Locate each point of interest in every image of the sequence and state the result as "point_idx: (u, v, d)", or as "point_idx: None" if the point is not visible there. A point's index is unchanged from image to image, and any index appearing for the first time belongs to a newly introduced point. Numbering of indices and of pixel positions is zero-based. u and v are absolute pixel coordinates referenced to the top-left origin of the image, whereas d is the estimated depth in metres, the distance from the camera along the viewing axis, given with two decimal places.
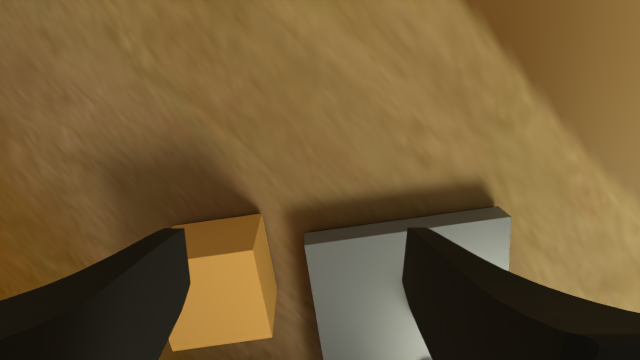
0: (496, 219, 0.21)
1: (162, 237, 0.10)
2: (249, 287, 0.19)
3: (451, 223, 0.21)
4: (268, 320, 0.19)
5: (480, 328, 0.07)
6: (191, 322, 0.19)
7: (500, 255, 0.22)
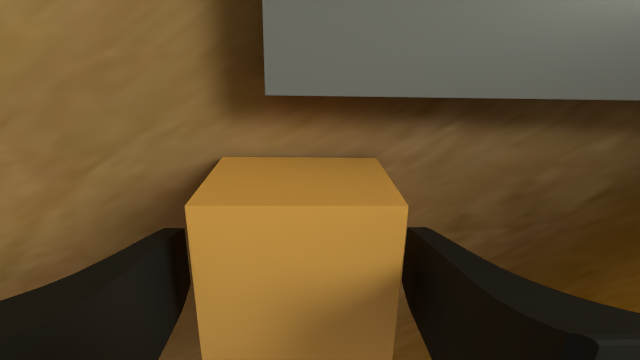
0: None
1: (162, 237, 0.10)
2: (273, 227, 0.09)
3: None
4: (364, 205, 0.09)
5: (480, 328, 0.07)
6: (335, 336, 0.10)
7: None
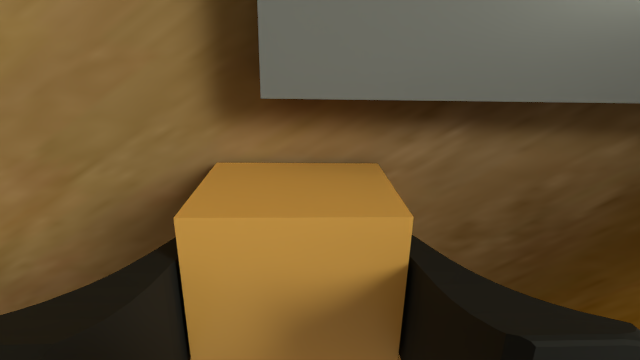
0: None
1: None
2: (268, 240, 0.08)
3: None
4: (367, 216, 0.08)
5: (439, 329, 0.07)
6: (335, 354, 0.10)
7: None
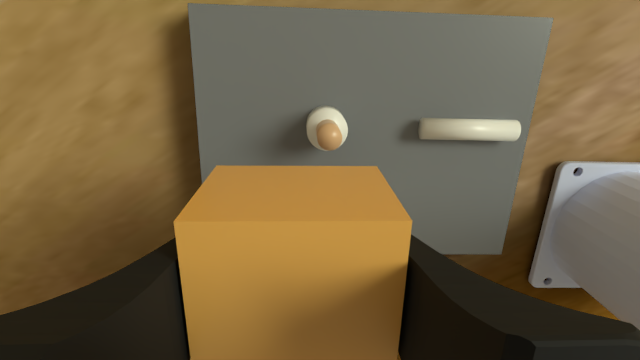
0: (190, 24, 0.16)
1: None
2: (268, 243, 0.08)
3: (195, 85, 0.17)
4: (366, 219, 0.08)
5: (438, 329, 0.07)
6: (334, 357, 0.10)
7: (247, 19, 0.16)
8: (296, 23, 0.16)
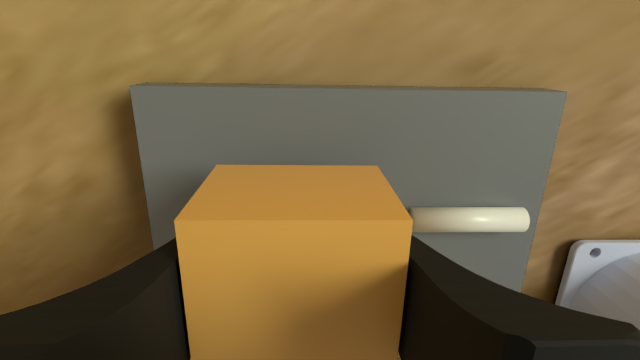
0: (134, 109, 0.13)
1: None
2: (268, 243, 0.08)
3: (145, 175, 0.14)
4: (366, 219, 0.08)
5: (438, 329, 0.07)
6: (335, 356, 0.10)
7: (202, 101, 0.13)
8: (260, 105, 0.13)
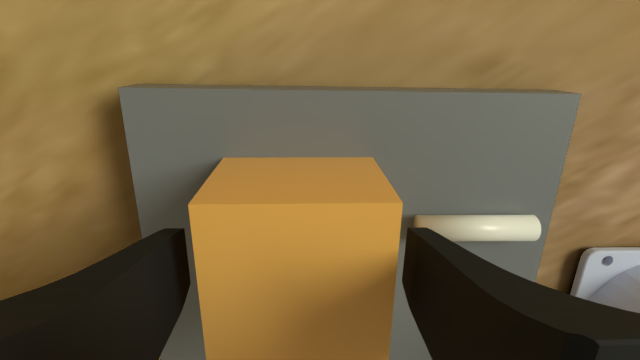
0: (123, 112, 0.12)
1: (162, 237, 0.10)
2: (273, 224, 0.09)
3: (135, 181, 0.14)
4: (361, 202, 0.09)
5: (480, 328, 0.07)
6: (334, 329, 0.11)
7: (195, 104, 0.13)
8: (257, 108, 0.13)
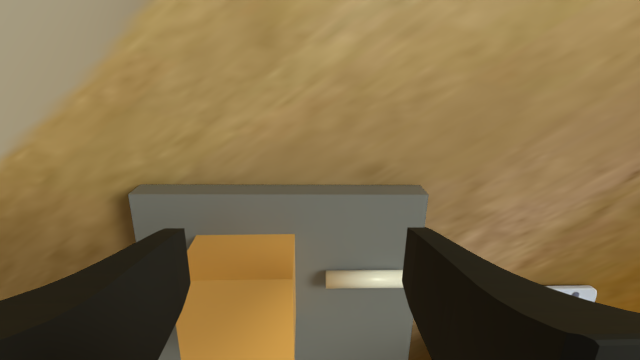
0: (131, 209, 0.20)
1: (162, 237, 0.10)
2: (218, 291, 0.16)
3: None
4: (269, 278, 0.16)
5: (480, 328, 0.07)
6: (258, 350, 0.18)
7: (177, 203, 0.20)
8: (217, 205, 0.20)
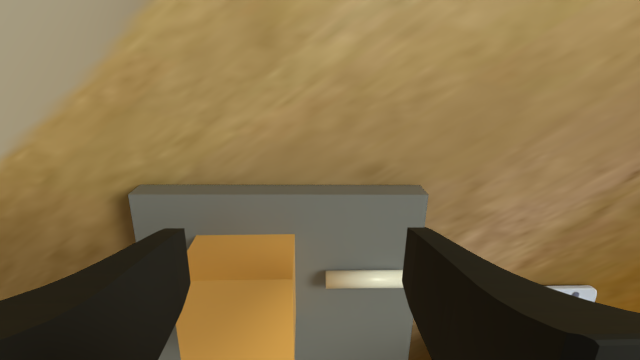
0: (131, 209, 0.20)
1: (162, 237, 0.10)
2: (218, 291, 0.16)
3: None
4: (268, 278, 0.16)
5: (480, 328, 0.07)
6: (258, 350, 0.18)
7: (177, 203, 0.20)
8: (217, 205, 0.20)
